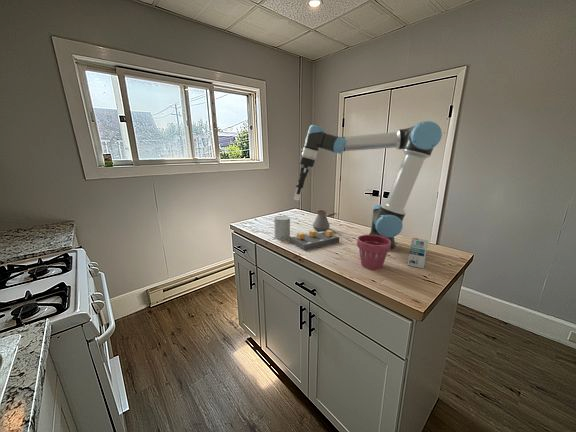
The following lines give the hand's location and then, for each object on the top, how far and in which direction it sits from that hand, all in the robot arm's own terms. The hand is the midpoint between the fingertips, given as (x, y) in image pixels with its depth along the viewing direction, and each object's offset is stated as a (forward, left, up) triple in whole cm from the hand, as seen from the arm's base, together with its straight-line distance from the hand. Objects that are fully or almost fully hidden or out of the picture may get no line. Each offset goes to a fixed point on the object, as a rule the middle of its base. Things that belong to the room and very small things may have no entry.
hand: (296, 197), depth 126 cm
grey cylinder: (+15, 0, -27) cm, 31 cm away
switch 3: (-5, -20, -24) cm, 32 cm away
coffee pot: (+10, -30, -27) cm, 42 cm away
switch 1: (0, -3, -24) cm, 24 cm away
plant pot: (-39, -16, -27) cm, 50 cm away
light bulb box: (-48, -37, -27) cm, 66 cm away
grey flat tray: (-2, -12, -27) cm, 30 cm away
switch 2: (0, -12, -24) cm, 27 cm away
